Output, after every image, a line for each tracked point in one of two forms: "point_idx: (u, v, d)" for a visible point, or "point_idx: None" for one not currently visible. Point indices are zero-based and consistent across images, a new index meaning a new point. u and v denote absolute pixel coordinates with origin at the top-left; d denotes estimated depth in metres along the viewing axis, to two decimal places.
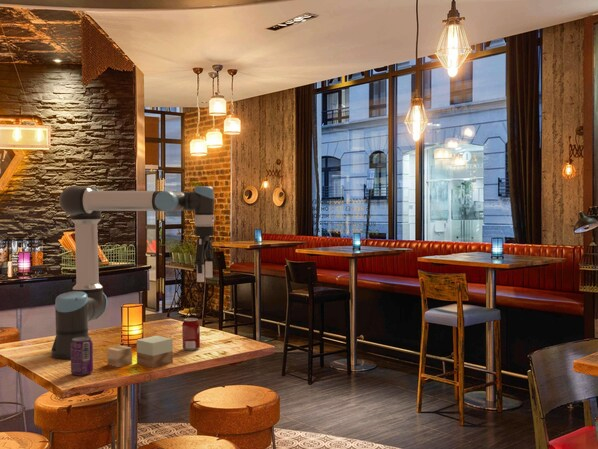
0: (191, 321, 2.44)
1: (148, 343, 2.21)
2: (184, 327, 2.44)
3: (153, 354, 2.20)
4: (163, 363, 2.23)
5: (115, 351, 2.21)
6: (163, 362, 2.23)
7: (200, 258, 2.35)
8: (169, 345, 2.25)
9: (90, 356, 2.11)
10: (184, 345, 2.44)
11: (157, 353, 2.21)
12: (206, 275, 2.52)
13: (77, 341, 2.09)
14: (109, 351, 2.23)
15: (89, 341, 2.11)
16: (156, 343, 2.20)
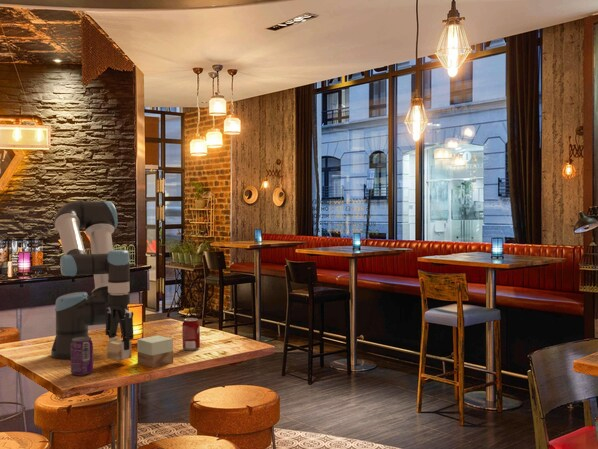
0: (191, 321, 2.44)
1: (147, 343, 2.21)
2: (184, 327, 2.44)
3: (152, 354, 2.20)
4: (163, 363, 2.23)
5: (114, 345, 2.21)
6: (163, 362, 2.23)
7: (132, 334, 2.21)
8: (169, 345, 2.25)
9: (90, 356, 2.11)
10: (184, 345, 2.44)
11: (156, 353, 2.21)
12: None
13: (77, 341, 2.09)
14: (109, 344, 2.23)
15: (89, 341, 2.11)
16: (155, 343, 2.20)
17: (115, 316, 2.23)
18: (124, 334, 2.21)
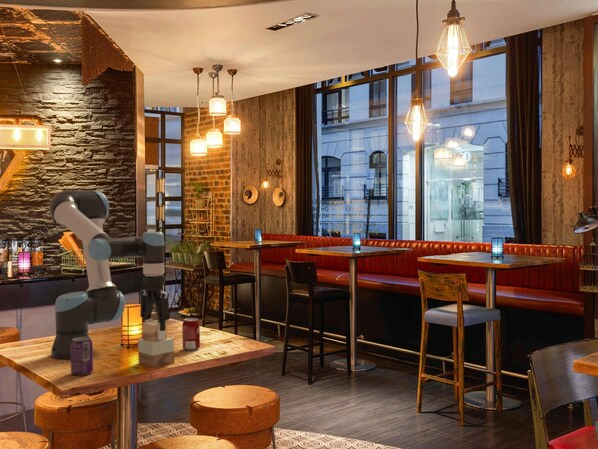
0: (191, 321, 2.44)
1: (148, 343, 2.21)
2: (184, 327, 2.44)
3: (153, 354, 2.19)
4: (165, 363, 2.23)
5: (150, 325, 2.22)
6: (164, 362, 2.23)
7: (168, 314, 2.21)
8: (170, 345, 2.25)
9: (90, 356, 2.11)
10: (184, 345, 2.44)
11: (157, 353, 2.21)
12: None
13: (77, 341, 2.09)
14: (144, 325, 2.24)
15: (89, 341, 2.11)
16: (156, 343, 2.20)
17: (150, 297, 2.24)
18: (160, 315, 2.22)
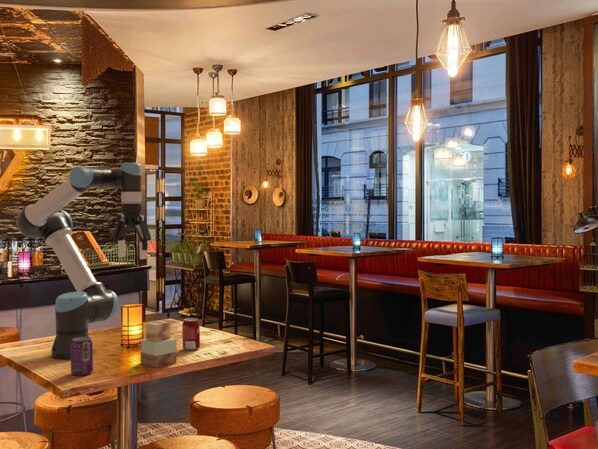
0: (191, 321, 2.44)
1: (151, 344, 2.20)
2: (184, 327, 2.44)
3: (156, 354, 2.19)
4: (167, 363, 2.23)
5: (154, 325, 2.22)
6: (166, 362, 2.23)
7: (149, 234, 2.35)
8: (173, 346, 2.24)
9: (90, 356, 2.11)
10: (184, 345, 2.44)
11: (160, 353, 2.20)
12: (120, 255, 2.44)
13: (77, 341, 2.09)
14: (148, 326, 2.24)
15: (89, 341, 2.11)
16: (159, 343, 2.20)
17: (128, 224, 2.40)
18: (141, 235, 2.36)
